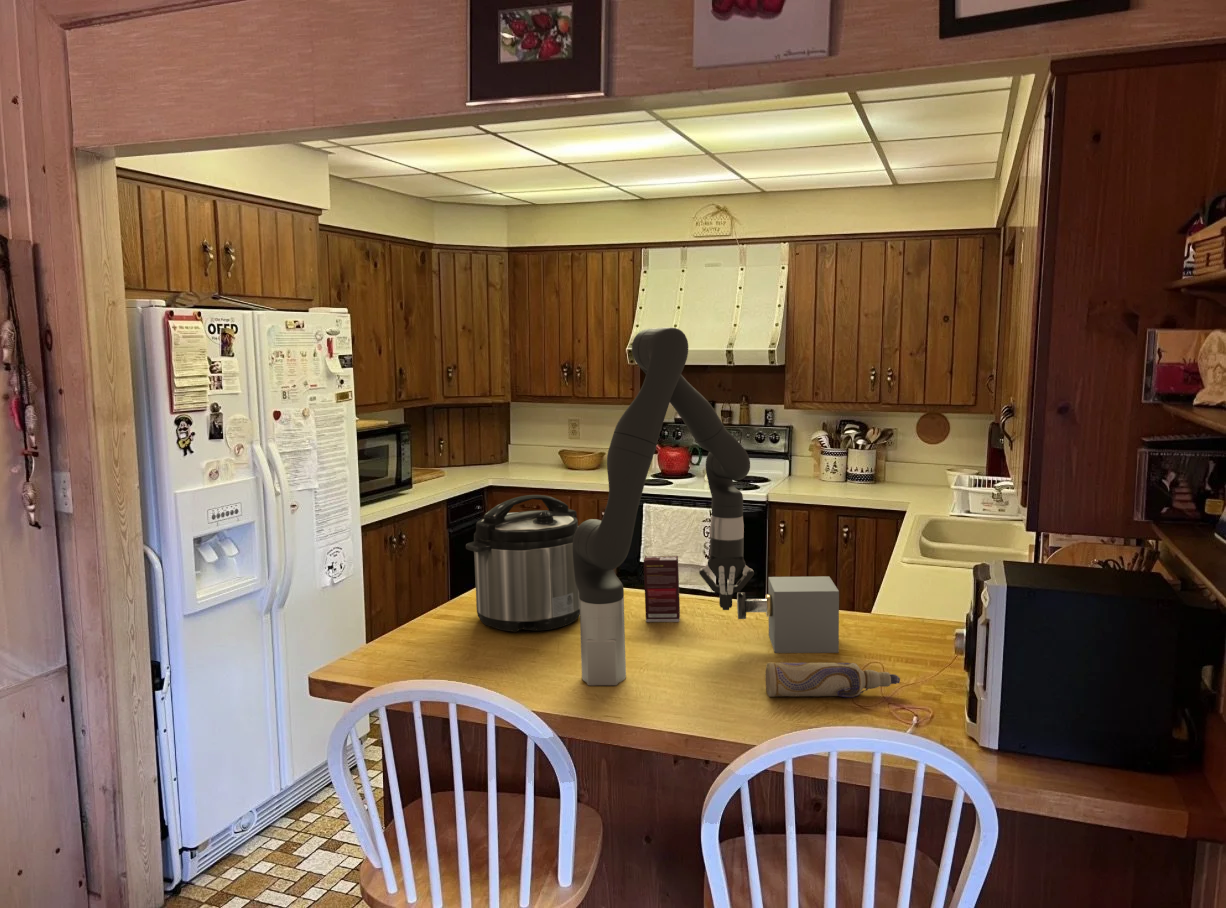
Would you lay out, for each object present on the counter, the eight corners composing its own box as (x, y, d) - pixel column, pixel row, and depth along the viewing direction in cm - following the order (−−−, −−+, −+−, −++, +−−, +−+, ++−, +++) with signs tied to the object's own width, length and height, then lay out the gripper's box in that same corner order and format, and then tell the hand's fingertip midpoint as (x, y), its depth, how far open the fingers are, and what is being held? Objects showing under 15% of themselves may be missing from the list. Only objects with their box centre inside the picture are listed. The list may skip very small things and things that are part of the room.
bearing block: (838, 652, 197) (838, 591, 195) (774, 652, 198) (774, 591, 196) (828, 634, 209) (829, 576, 207) (768, 634, 210) (768, 576, 208)
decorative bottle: (769, 703, 171) (768, 670, 171) (764, 688, 179) (764, 656, 178) (905, 702, 170) (905, 669, 169) (895, 687, 177) (895, 655, 177)
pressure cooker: (586, 598, 243) (582, 483, 238) (594, 632, 215) (589, 503, 211) (474, 604, 240) (468, 488, 236) (468, 640, 212) (461, 509, 208)
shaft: (832, 622, 199) (832, 596, 198) (739, 622, 200) (738, 596, 200) (827, 613, 205) (827, 588, 204) (737, 614, 206) (736, 589, 206)
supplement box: (680, 616, 225) (679, 555, 223) (679, 622, 220) (678, 560, 218) (646, 616, 226) (644, 555, 224) (644, 622, 221) (643, 560, 219)
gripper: (698, 538, 198) (697, 614, 200) (758, 539, 197) (756, 614, 199) (696, 531, 205) (696, 604, 208) (754, 531, 205) (753, 604, 207)
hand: (725, 609), depth 203 cm, fingers closed
